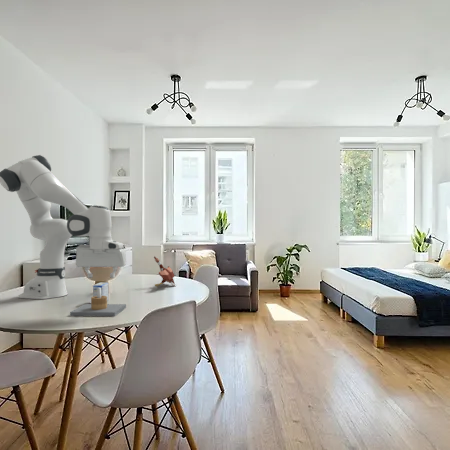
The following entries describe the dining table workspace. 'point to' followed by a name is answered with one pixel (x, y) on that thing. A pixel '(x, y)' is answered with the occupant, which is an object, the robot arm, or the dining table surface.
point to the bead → (98, 303)
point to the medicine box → (103, 289)
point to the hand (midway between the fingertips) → (101, 277)
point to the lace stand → (87, 311)
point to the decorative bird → (165, 273)
